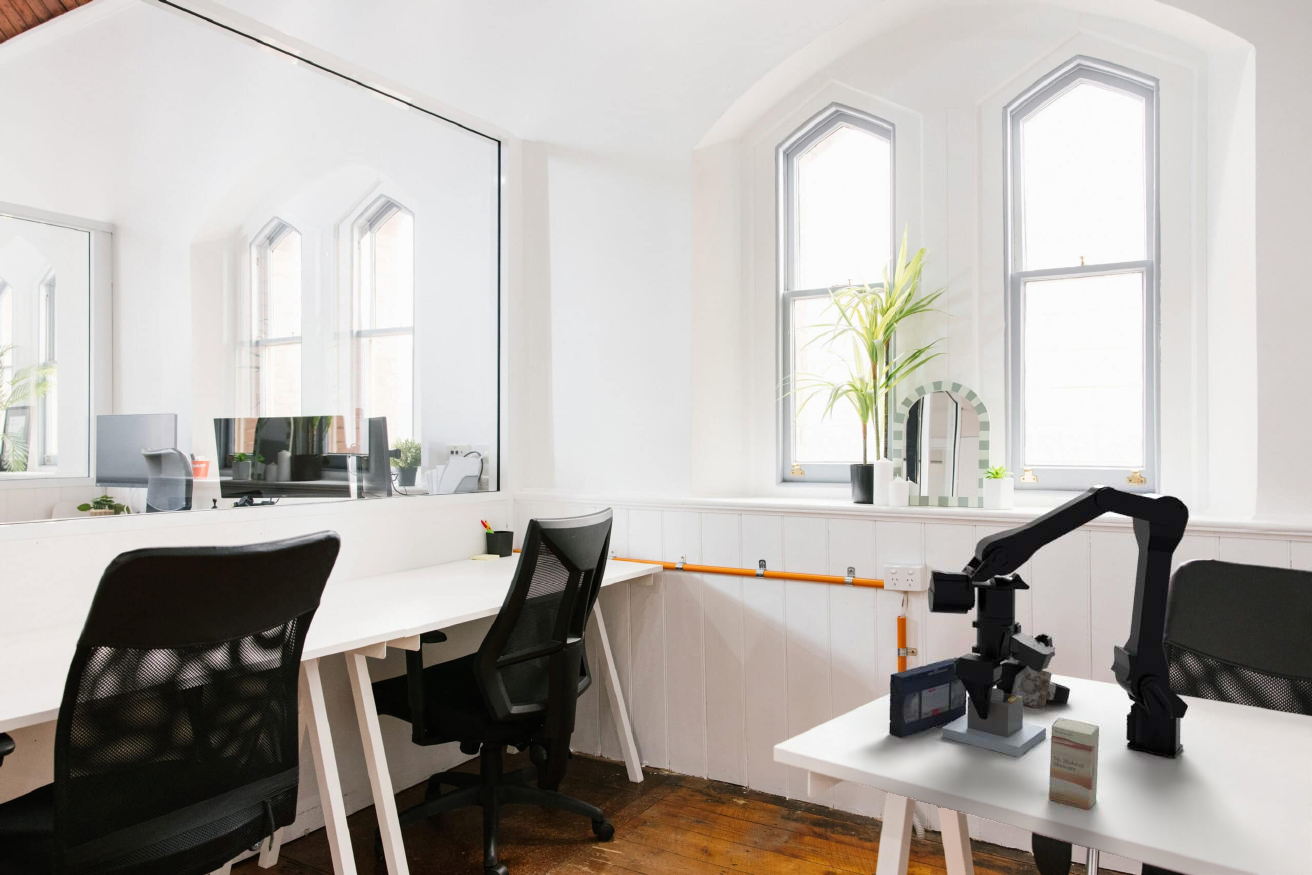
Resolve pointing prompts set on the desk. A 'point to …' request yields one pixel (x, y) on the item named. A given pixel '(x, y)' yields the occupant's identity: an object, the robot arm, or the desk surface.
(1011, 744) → the square peg stand
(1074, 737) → the skincare box
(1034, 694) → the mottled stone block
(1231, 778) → the desk surface
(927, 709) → the vhs cassette tape
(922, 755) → the desk surface
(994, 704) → the open cubby box
